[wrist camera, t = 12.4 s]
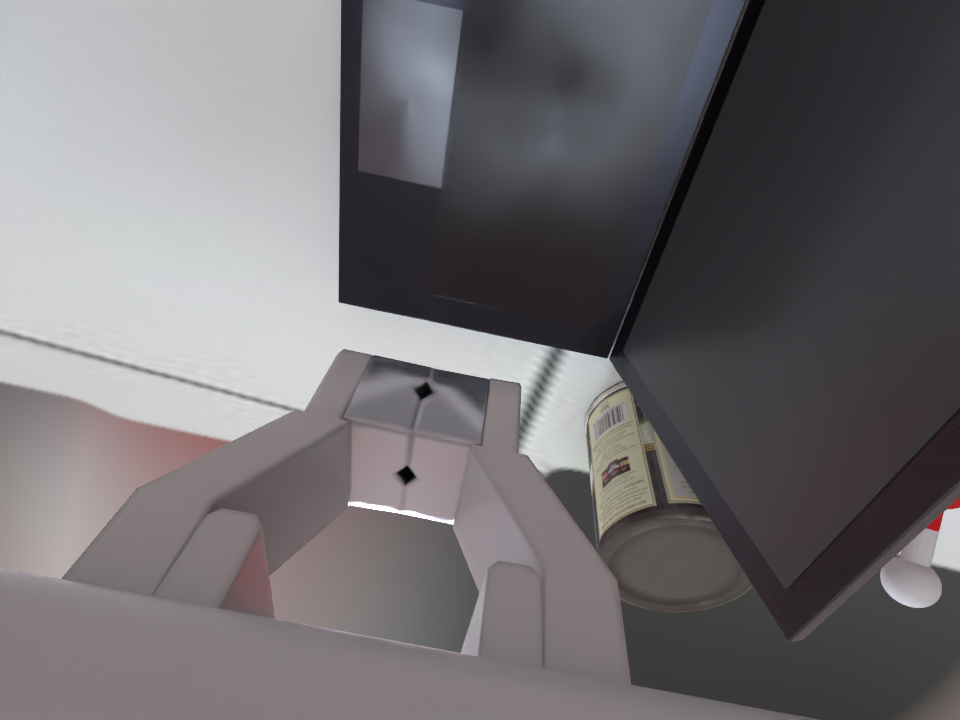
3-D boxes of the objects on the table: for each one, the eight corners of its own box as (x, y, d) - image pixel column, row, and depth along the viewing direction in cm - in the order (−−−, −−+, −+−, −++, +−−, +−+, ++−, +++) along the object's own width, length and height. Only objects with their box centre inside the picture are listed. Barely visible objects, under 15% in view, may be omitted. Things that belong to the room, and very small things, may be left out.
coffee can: (677, 476, 47) (717, 626, 36) (569, 450, 47) (575, 594, 35) (730, 392, 41) (800, 540, 30) (608, 363, 41) (630, 500, 30)
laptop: (346, 291, 40) (337, 303, 39) (356, -291, 23) (342, -313, 21) (605, 346, 40) (607, 359, 39) (810, -195, 23) (829, -210, 21)
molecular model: (958, 355, 37) (1072, 452, 29) (1032, 371, 37) (1167, 473, 29) (823, 507, 47) (880, 611, 39) (881, 520, 47) (950, 626, 39)
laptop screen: (785, 643, 22) (802, 641, 23) (2323, -792, 5) (2334, -744, 5) (607, 358, 39) (618, 359, 39) (828, -210, 22) (845, -203, 22)
